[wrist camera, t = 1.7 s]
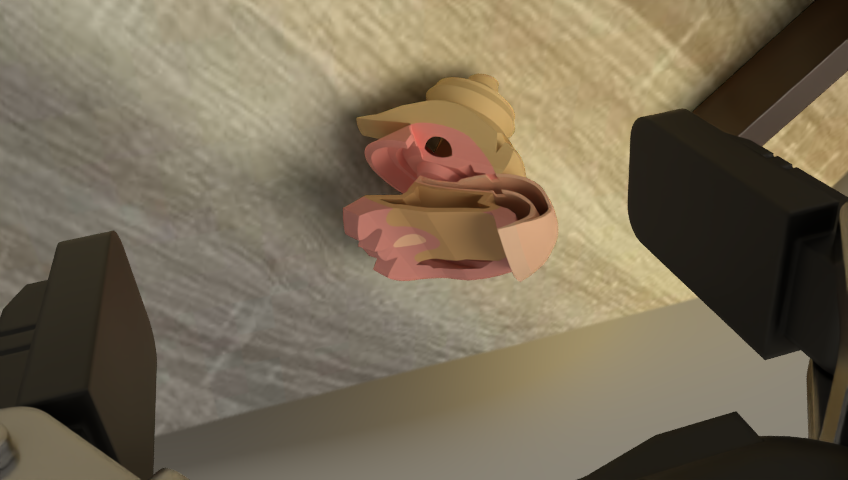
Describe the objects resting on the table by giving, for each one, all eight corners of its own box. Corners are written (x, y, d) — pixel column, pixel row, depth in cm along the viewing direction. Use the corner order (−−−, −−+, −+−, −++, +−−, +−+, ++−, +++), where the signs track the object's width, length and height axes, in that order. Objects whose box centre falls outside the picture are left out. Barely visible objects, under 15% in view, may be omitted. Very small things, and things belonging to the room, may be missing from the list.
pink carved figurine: (375, 12, 32) (600, 56, 28) (436, 136, 41) (614, 182, 37) (274, 206, 29) (506, 282, 26) (362, 293, 38) (545, 359, 34)
